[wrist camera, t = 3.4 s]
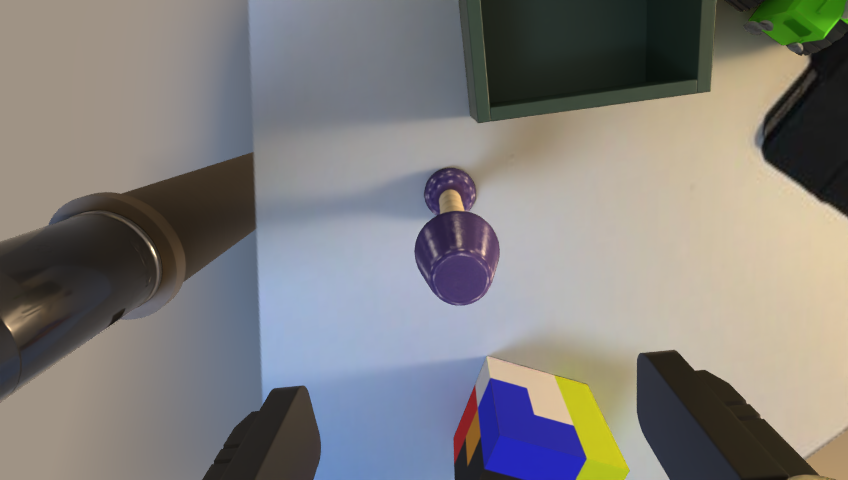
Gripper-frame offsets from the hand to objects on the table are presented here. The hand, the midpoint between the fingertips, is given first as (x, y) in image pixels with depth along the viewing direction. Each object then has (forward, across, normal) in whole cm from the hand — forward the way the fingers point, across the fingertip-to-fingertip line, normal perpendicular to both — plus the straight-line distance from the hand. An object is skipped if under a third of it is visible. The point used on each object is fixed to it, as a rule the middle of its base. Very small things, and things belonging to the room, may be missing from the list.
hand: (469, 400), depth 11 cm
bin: (+27, -9, -12) cm, 31 cm away
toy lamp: (+27, 0, +1) cm, 27 cm away
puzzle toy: (+27, -4, +23) cm, 36 cm away
